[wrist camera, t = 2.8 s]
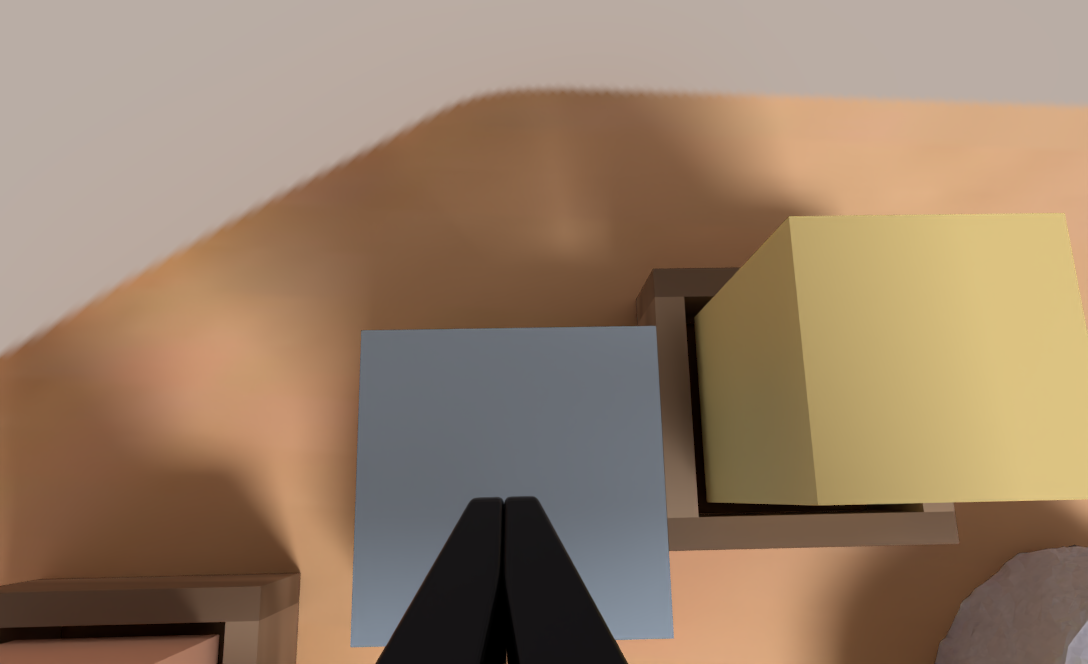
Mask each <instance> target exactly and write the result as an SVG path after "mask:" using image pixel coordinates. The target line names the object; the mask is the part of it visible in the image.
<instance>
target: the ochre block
mask: <svg viewBox="0 0 1088 664" xmlns="http://www.w3.org/2000/svg"><path fill="white" fill-rule="evenodd" d="M694 321H695V336H696V350H697V365H698V379H699V394H700V409H701V423H702V438H703V452H704V467H705V481H706V496H707V502H717V503H751V504H786V505H860V504H905V503H949V502H993V501H1037V500H1081V499H1088V333H1087V328H1086V323H1085V317H1084V312H1083V307H1082V302H1081V296H1080V291H1079V286H1078V280H1077V275H1076V270H1075V265H1074V259H1073V254H1072V249H1071V244H1070V238H1069V233H1068V228H1067V223H1066V217H1065V213H1026V214H939V215H853V216H789V217H788V218H787V219H786V220H785V221H784V222H783V223H782V224H781V225H780V226H779V227H778V228H777V230H776V231H775V232H774V233H773V234H772V235H771V236H770V237H769V238H768V239H767V240H766V241H765V242H764V243H763V244H762V246H761V247H760V248H759V249H758V250H757V251H756V252H755V253H754V254H753V255H752V256H751V257H750V258H749V259H748V261H747V262H746V263H745V264H744V265H743V266H742V267H741V268H740V269H739V270H738V271H737V272H736V273H735V274H734V276H733V277H732V278H731V279H730V280H729V281H728V282H727V283H726V284H725V285H724V286H723V287H722V288H721V289H720V290H719V292H718V293H717V294H716V295H715V296H714V297H713V298H712V299H711V300H710V301H709V302H708V303H707V304H706V305H705V307H704V308H703V309H702V310H701V311H700V312H699V313H698V314H697V315H696V316H695V317H694Z"/></svg>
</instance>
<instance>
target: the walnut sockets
mask: <svg viewBox="0 0 1088 664" xmlns="http://www.w3.org/2000/svg"><path fill="white" fill-rule="evenodd" d="M739 269H740V268H678V269H653V270H652V272H651V274H650V275H649V277H648V279H647V281H646V283H645V284H644V286H643V288H642V290H641V292H640V293H639V295H638V297H637V299H636V309H637V326H656V335H657V352H658V370H659V387H660V405H661V423H662V440H663V458H664V475H665V493H666V511H667V528H668V546H669V551H685V550H726V549H768V548H809V547H850V546H891V545H933V544H959V537H958V530H957V523H956V516H955V509H954V502H949V503H905V504H866V505H867V510H842V511H798V512H754V513H711V514H698V499H697V484H696V468H695V453H694V438H693V423H692V408H691V393H690V378H689V363H688V348H687V332H686V324H692V323H695V321H694V317H695V316H696V315H697V314H698V313H699V312H700V311H701V310H702V309H703V308H704V307H705V305H706V304H707V303H708V302H709V301H710V300H711V299H712V298H713V297H714V296H715V295H716V294H717V293H718V292H719V290H720V289H721V288H722V287H723V286H724V285H725V284H726V283H727V282H728V281H729V280H730V279H731V278H732V277H733V276H734V274H735V273H736V272H737V271H738V270H739ZM299 592H300V573H281V574H240V575H200V576H160V577H119V578H79V579H39V580H33V581H27V582H21V583H15V584H9V585H3V586H0V644H2V643H6V642H10V641H13V640H34V639H60V637H61V628H62V626H87V625H125V624H162V623H200V622H226V623H225V637H224V651H223V664H296V652H297V632H298V612H299Z"/></svg>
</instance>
